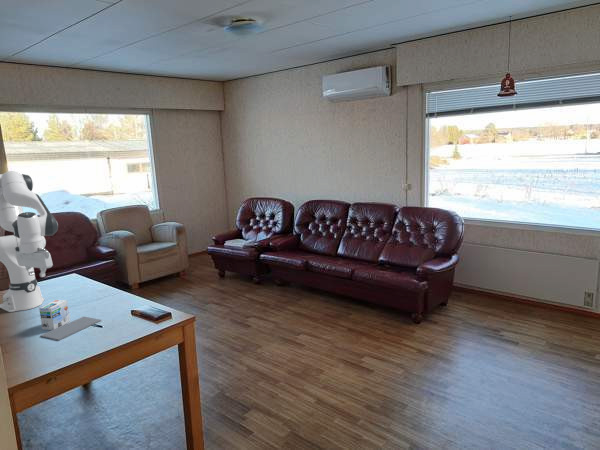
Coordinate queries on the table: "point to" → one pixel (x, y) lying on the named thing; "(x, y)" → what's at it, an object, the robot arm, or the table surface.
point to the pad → (70, 328)
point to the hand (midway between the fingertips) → (37, 276)
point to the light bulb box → (54, 314)
